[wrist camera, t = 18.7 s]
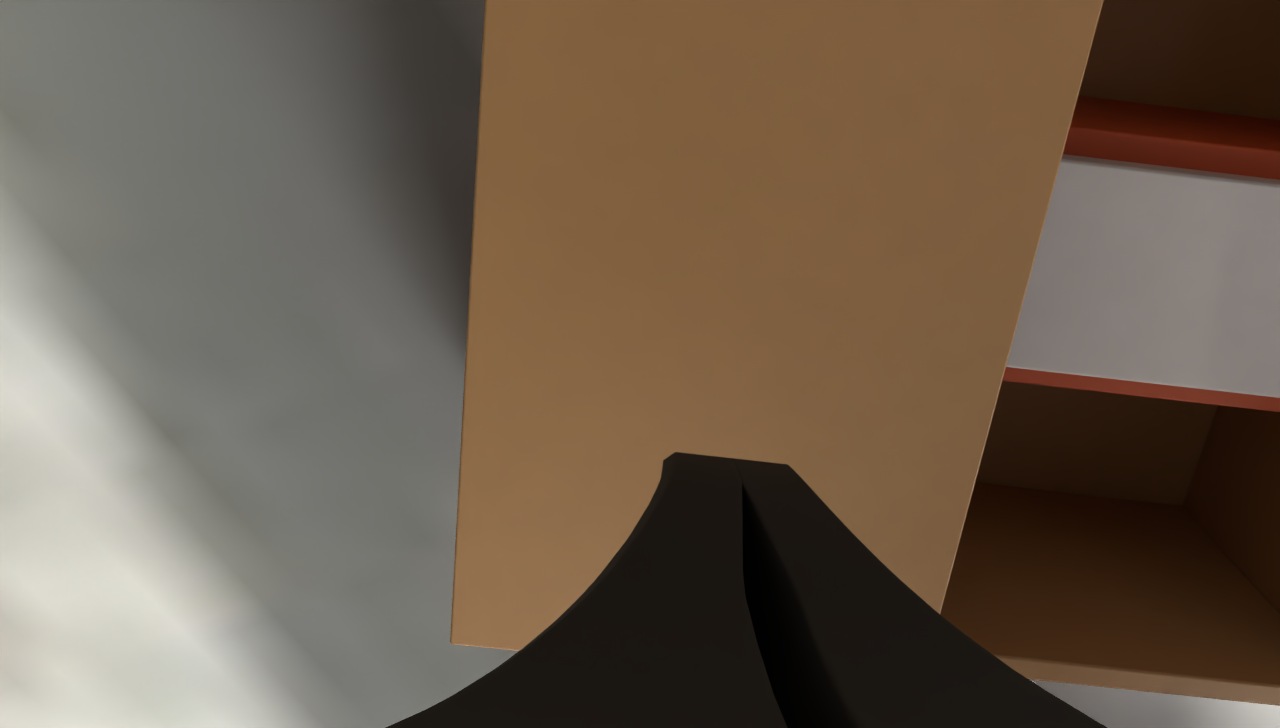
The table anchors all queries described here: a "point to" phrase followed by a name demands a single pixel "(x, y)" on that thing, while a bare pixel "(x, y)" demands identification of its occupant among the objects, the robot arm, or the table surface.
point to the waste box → (1137, 453)
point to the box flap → (745, 267)
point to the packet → (1159, 259)
